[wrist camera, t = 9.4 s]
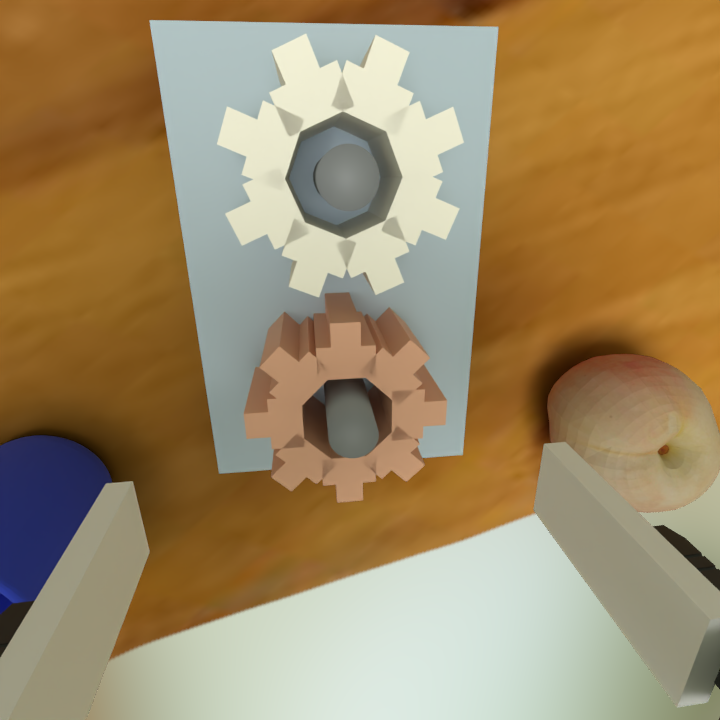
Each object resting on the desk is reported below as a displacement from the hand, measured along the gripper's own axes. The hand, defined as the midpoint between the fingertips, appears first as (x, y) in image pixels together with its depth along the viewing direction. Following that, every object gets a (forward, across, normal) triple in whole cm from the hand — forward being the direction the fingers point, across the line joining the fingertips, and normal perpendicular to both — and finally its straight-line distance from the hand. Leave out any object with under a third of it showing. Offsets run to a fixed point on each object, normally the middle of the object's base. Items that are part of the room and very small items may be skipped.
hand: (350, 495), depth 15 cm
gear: (+10, +1, +10) cm, 14 cm away
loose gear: (+10, +1, 0) cm, 10 cm away
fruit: (+11, +16, -3) cm, 20 cm away
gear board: (+12, +1, +5) cm, 12 cm away
